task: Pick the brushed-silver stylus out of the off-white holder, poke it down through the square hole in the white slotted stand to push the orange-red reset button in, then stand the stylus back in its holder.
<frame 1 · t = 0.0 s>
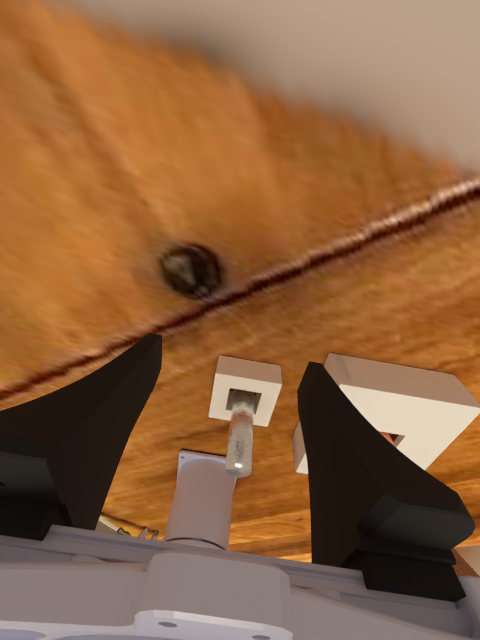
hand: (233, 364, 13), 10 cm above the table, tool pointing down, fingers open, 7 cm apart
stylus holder: (244, 382, 28), on the table
stone cup: (386, 496, 37), on the table
stylus: (241, 419, 24), in the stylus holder
caliper: (104, 510, 46), on the table
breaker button: (374, 436, 26), point 3 cm above the table, slide at 0.0 cm
white slotted stand: (363, 409, 28), on the table
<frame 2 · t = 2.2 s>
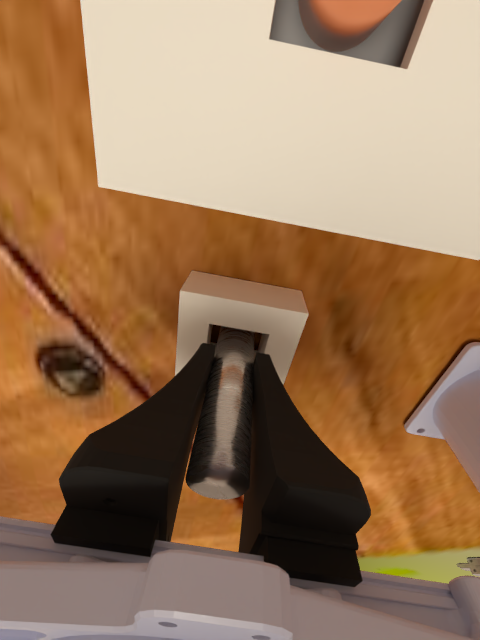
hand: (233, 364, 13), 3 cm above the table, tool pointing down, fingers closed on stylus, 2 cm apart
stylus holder: (237, 326, 16), on the table
stylus: (230, 380, 12), in the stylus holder, touching gripper
white slotted stand: (328, 20, 9), on the table
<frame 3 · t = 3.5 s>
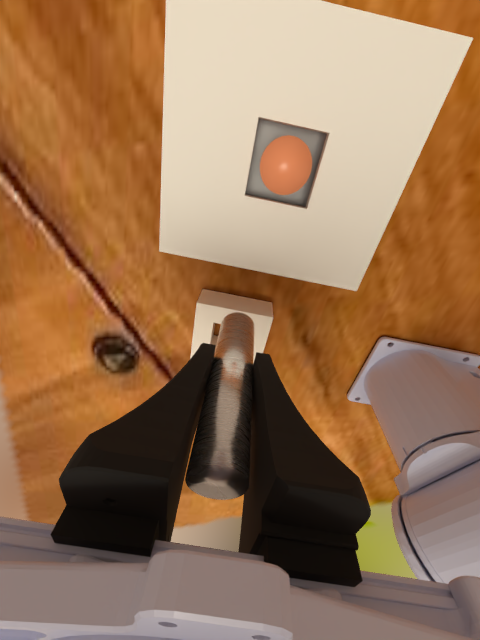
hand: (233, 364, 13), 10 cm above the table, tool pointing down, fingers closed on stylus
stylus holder: (231, 324, 24), on the table
stylus: (230, 380, 12), point 12 cm above the table, touching gripper
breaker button: (283, 165, 15), point 3 cm above the table, slide at 0.0 cm
white slotted stand: (279, 164, 18), on the table
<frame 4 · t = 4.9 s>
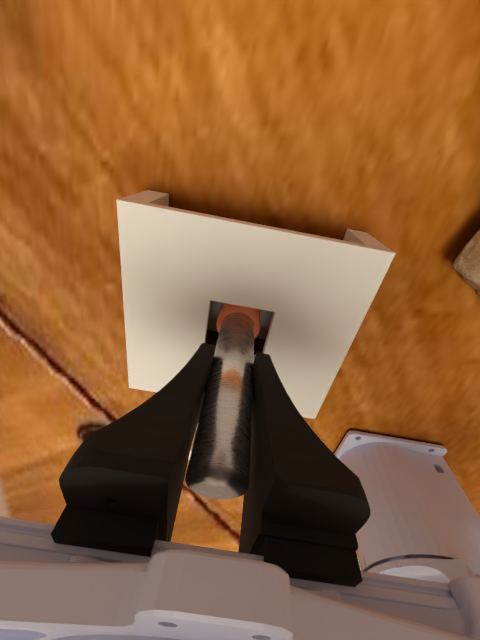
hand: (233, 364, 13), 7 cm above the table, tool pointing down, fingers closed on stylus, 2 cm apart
stylus: (230, 380, 12), point 8 cm above the table, touching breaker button, gripper
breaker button: (239, 313, 17), point 2 cm above the table, slide at 1.5 cm, touching stylus
white slotted stand: (241, 301, 19), on the table
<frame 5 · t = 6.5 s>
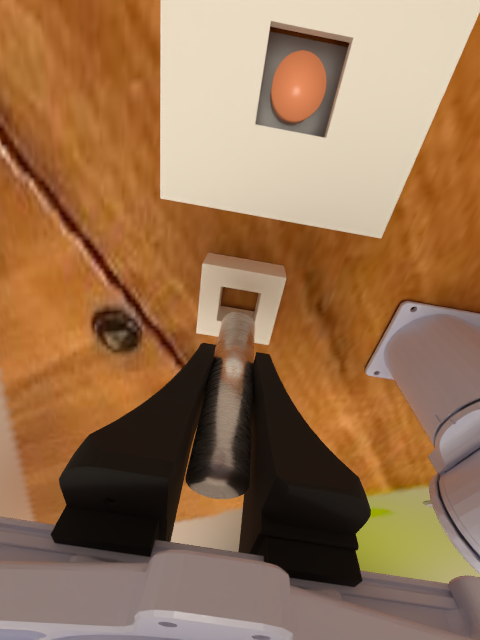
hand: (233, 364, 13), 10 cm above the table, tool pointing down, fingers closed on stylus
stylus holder: (240, 293, 23), on the table
stylus: (230, 379, 12), point 12 cm above the table, touching gripper
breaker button: (295, 93, 14), point 2 cm above the table, slide at 1.5 cm
white slotted stand: (291, 99, 16), on the table
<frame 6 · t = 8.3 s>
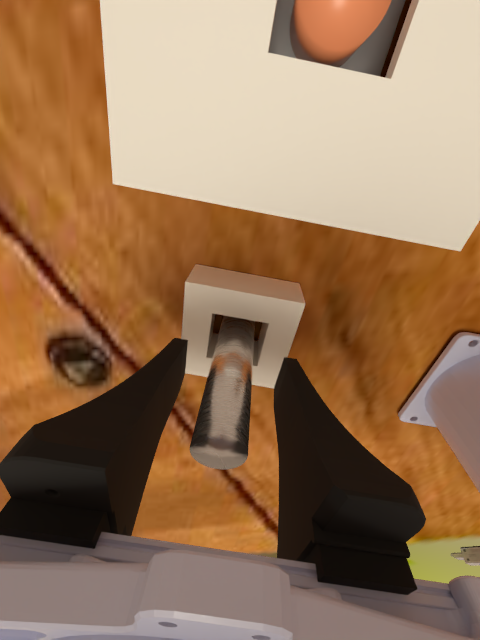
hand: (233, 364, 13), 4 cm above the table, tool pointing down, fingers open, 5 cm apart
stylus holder: (239, 317, 17), on the table
stylus: (231, 365, 13), in the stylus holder
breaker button: (333, 11, 9), point 2 cm above the table, slide at 1.5 cm
white slotted stand: (323, 32, 10), on the table
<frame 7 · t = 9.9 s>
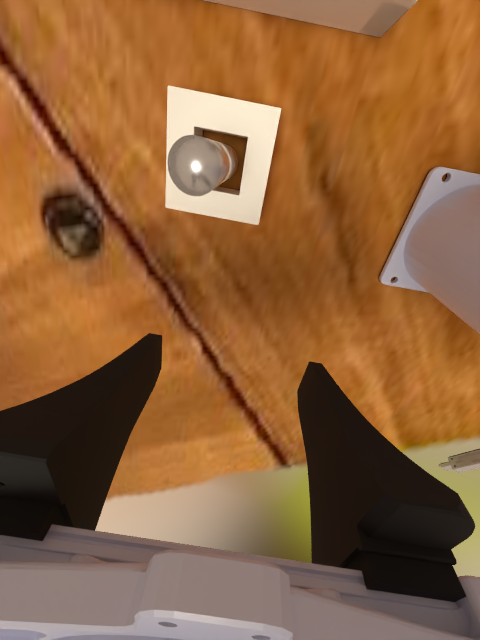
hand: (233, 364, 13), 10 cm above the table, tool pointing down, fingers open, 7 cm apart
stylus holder: (223, 161, 18), on the table
stylus: (212, 163, 14), in the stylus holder
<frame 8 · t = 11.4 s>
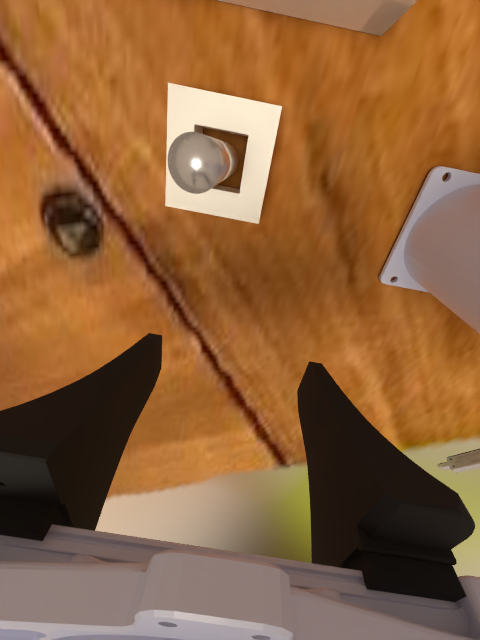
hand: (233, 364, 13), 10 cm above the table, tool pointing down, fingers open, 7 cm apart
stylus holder: (223, 160, 18), on the table
stylus: (212, 161, 14), in the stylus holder
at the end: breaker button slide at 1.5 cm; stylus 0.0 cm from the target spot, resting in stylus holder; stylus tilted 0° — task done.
